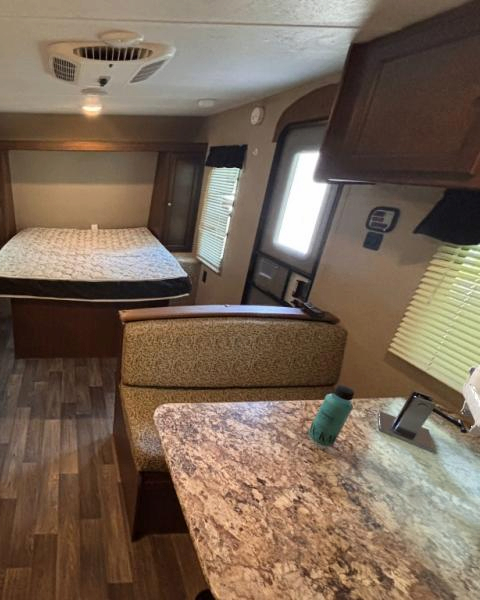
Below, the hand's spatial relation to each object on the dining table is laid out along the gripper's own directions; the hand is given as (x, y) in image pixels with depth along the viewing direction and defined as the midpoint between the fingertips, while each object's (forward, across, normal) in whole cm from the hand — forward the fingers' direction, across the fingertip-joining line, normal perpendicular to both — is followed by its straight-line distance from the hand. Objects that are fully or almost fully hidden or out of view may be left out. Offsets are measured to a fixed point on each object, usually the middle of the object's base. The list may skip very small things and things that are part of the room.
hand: (468, 423), depth 89 cm
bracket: (+10, 0, +10) cm, 15 cm away
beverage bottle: (+10, -24, +30) cm, 40 cm away
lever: (+1, 0, +6) cm, 6 cm away
